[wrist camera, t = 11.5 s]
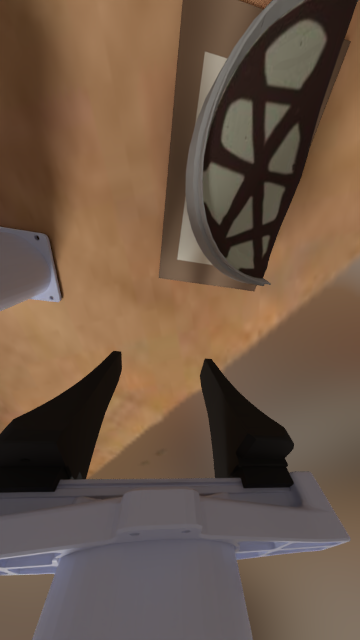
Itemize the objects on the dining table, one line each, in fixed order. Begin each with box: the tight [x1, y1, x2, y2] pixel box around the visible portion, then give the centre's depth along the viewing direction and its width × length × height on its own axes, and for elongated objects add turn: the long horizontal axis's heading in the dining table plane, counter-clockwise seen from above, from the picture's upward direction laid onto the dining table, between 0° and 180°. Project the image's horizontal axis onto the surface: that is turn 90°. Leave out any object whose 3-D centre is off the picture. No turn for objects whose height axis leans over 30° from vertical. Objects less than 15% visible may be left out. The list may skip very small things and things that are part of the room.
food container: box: [185, 0, 358, 286], centre depth 12 cm, size 12×6×10 cm, turn 174°
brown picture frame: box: [159, 0, 351, 291], centre depth 16 cm, size 13×20×1 cm, turn 171°
